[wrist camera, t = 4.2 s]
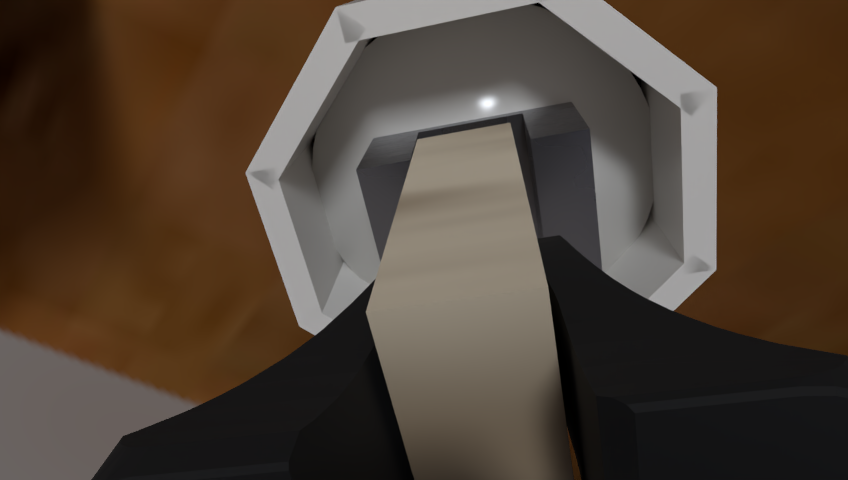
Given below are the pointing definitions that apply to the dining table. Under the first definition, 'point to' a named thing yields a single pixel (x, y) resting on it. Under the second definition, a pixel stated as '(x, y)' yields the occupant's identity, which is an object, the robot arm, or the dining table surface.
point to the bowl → (478, 98)
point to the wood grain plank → (469, 318)
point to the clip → (540, 164)
